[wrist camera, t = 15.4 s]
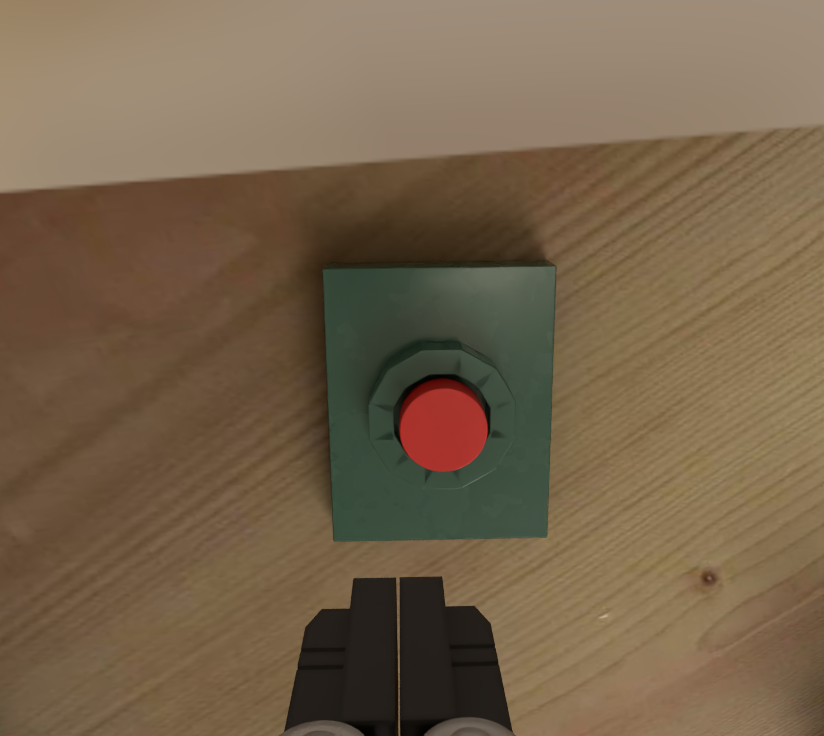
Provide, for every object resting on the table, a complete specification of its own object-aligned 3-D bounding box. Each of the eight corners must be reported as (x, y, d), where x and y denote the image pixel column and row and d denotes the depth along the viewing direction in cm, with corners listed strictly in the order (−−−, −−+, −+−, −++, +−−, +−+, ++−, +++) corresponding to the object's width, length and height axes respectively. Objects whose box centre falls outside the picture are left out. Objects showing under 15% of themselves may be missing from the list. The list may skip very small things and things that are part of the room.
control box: (326, 263, 38) (318, 273, 35) (547, 260, 39) (564, 270, 35) (336, 523, 42) (330, 559, 38) (539, 519, 42) (554, 554, 38)
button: (398, 378, 36) (398, 388, 34) (484, 377, 36) (488, 387, 35) (400, 459, 37) (400, 473, 35) (483, 457, 37) (487, 471, 36)
